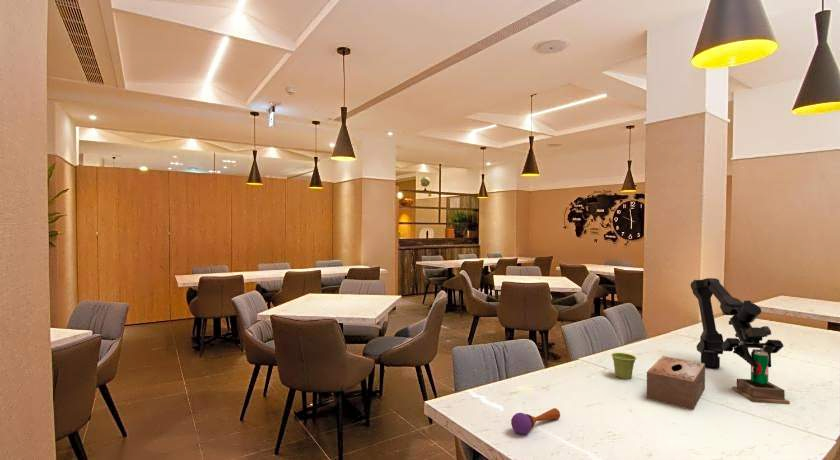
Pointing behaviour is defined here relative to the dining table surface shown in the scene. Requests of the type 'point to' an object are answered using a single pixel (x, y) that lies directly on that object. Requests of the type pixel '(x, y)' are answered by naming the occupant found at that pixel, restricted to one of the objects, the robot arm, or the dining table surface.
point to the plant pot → (623, 364)
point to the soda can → (760, 367)
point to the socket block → (760, 392)
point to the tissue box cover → (676, 382)
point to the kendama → (531, 420)
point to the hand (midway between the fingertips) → (762, 366)
